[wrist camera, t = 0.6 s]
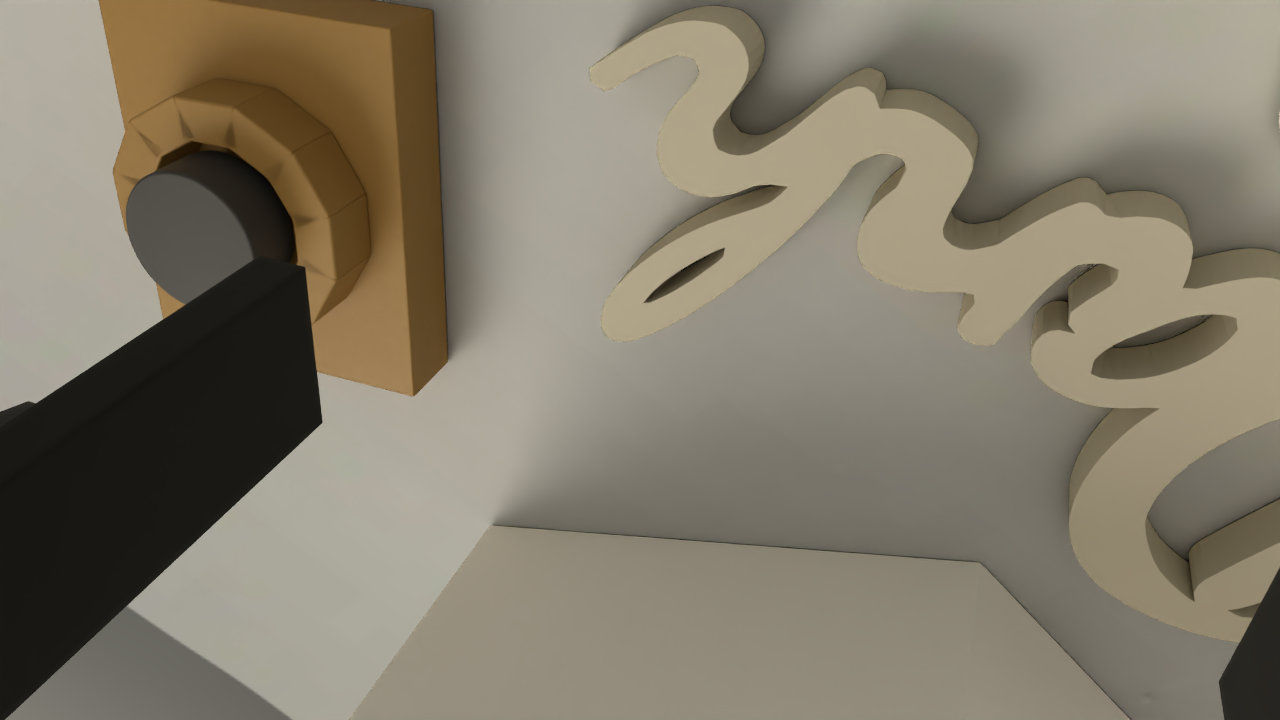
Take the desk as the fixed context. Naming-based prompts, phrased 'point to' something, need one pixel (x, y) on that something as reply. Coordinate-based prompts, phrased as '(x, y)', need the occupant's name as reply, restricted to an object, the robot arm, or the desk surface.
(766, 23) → the desk surface
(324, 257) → the button box
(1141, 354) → the decorative sign
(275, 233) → the button
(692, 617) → the white box
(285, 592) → the desk surface
